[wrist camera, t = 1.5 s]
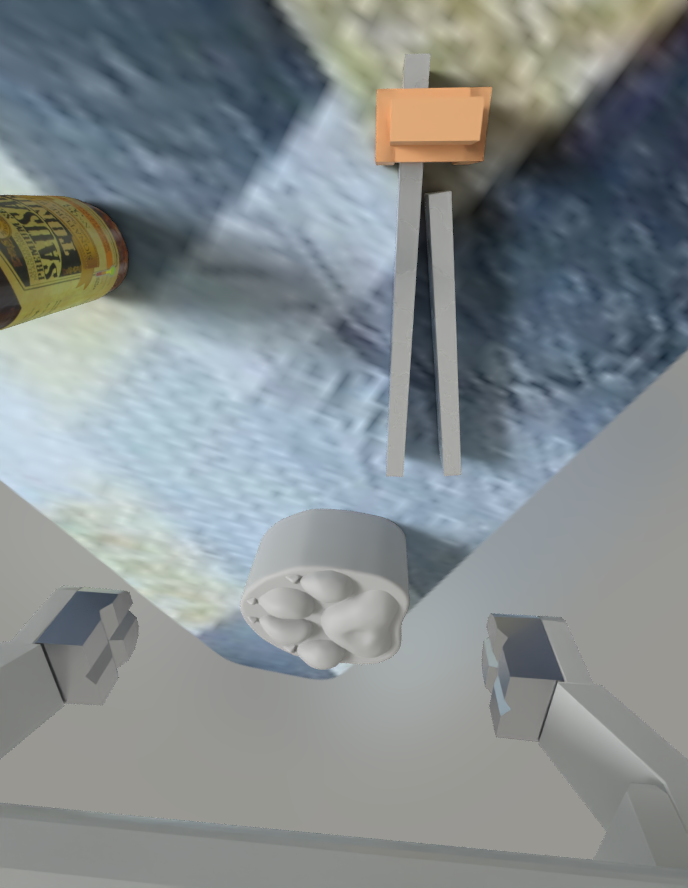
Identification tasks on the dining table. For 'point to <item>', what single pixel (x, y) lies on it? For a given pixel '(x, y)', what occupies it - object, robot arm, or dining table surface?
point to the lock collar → (432, 125)
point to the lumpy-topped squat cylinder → (330, 587)
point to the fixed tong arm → (404, 282)
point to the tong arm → (444, 326)
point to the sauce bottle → (55, 256)
